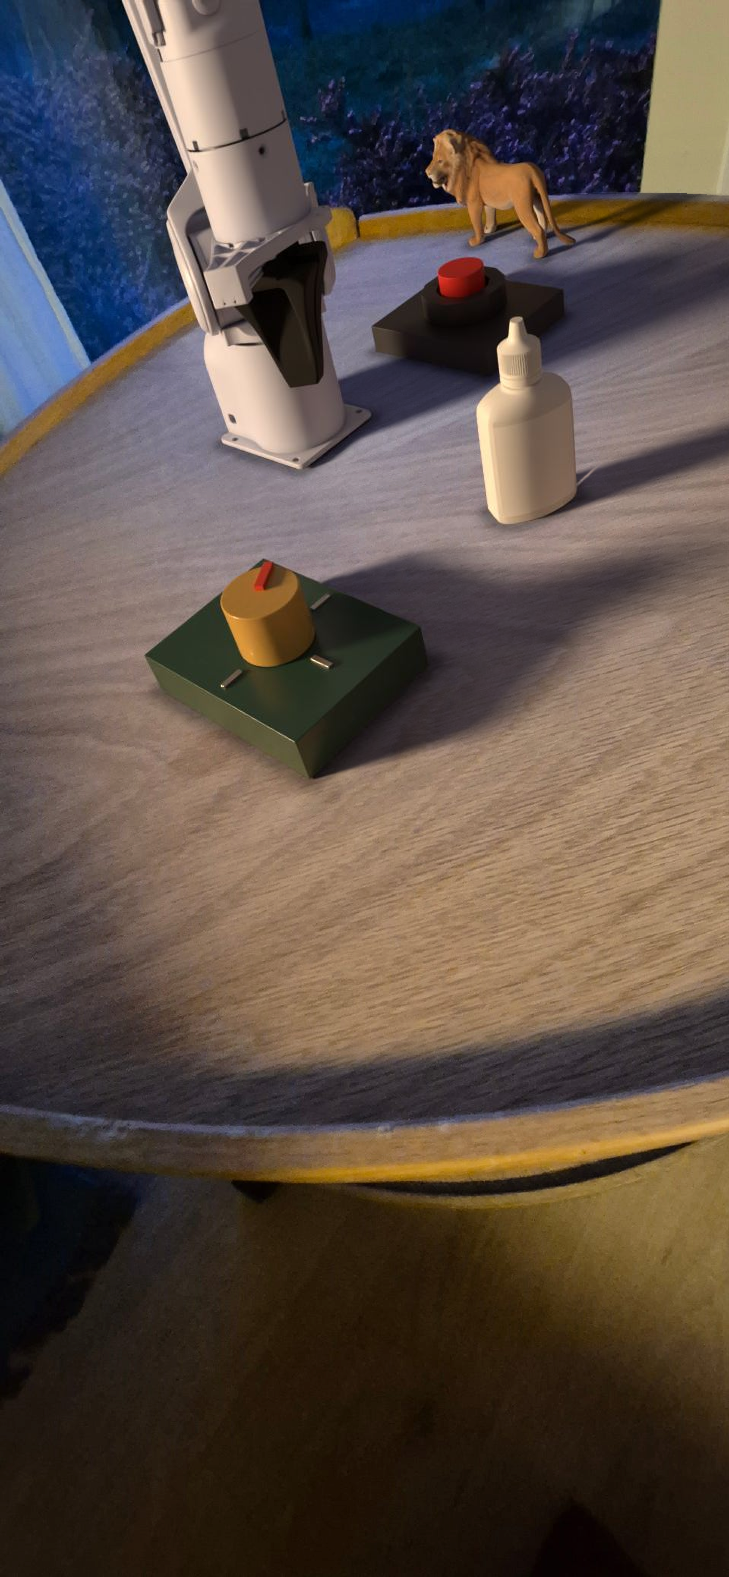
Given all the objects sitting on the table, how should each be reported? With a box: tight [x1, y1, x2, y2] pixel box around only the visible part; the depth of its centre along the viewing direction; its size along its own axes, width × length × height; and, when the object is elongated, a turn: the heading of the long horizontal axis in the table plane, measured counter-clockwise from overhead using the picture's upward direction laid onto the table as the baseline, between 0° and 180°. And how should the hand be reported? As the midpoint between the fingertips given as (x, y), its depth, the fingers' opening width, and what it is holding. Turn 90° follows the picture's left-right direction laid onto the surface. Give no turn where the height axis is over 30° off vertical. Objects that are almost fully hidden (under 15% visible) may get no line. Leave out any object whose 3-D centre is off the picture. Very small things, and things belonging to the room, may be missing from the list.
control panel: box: [143, 558, 430, 780], centre depth 54 cm, size 13×10×3 cm
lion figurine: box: [425, 128, 577, 259], centre depth 84 cm, size 15×5×9 cm, turn 50°
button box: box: [371, 265, 566, 378], centre depth 76 cm, size 12×10×4 cm
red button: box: [437, 256, 486, 298], centre depth 74 cm, size 4×4×2 cm
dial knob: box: [221, 561, 315, 667], centre depth 52 cm, size 4×4×4 cm
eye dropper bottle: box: [476, 317, 578, 525], centre depth 57 cm, size 4×6×12 cm
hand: (306, 381), depth 60 cm, fingers closed
